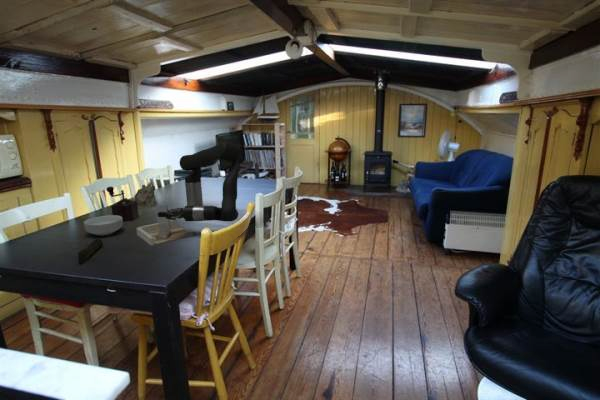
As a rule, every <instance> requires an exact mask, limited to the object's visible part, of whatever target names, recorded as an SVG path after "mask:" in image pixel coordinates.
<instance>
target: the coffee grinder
mask: <svg viewBox="0 0 600 400" xmlns="http://www.w3.org/2000/svg"><path fill="white" fill-rule="evenodd" d="M114 190H115V188H114V186H107V188H106V189H105V191H106V192H108V193H109V196H110V197H111V198H113V197H120V196H121V197H122V199H119V200H118V201H116V202H115V203H113V204H111V205H110V207H111V215H117V216H121V217H122V218H123V223H124V222H125V223H126V222H133V221H135V220H136V219H138V218H139V217H140V215H139V209H138V206H137V200H136V201H135V200H132V199H128V198H127V197H125V192H124V191H125V190H123V189H122V190H121V191H120V192H121V193H119V194H115V192H114Z"/></svg>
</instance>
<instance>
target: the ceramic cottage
mask: <svg viewBox="0 0 600 400" xmlns="http://www.w3.org/2000/svg"><path fill="white" fill-rule="evenodd" d="M133 197H134V201H136V200H137V206H138V210H143V209H149V208H153V207H156V206H157V205H158V203H157V200H156V196H155V189H154V188H153V185H152V182H148V184H147V185H146V184H142V185H141V188H139V189H138V190H137V192H136V193H135V195H134V196H133Z"/></svg>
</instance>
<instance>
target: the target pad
mask: <svg viewBox="0 0 600 400" xmlns="http://www.w3.org/2000/svg"><path fill="white" fill-rule="evenodd" d="M171 230H172V233H171V234H170V235H169V236H168V237H167V238H161V239H155V235H156V234H158V233H159V232H160V230H155V231H151V232H147V233H148V234H149V235H151V236H152V237H153V238H154V246H155V245H160V244H162V243H168V242H171V241H176V240H180V239H184V238H189V237H192V236H194V234H193V233H192V232H190V231H189V230H187V229H185V228H184V227H183V226H180V225H178V226H173V227H171Z"/></svg>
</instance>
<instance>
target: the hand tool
mask: <svg viewBox="0 0 600 400" xmlns="http://www.w3.org/2000/svg"><path fill="white" fill-rule="evenodd" d="M103 246H104V245H103V241H102V239H98V238H96V239H94V240H92V242H91V243H90V244H88V245H87V246H86V248H82V249H80V251H78V253H77V256H78V257H77V258H78V263H79V264H80V265H81V264H83V263H85V262H86V261H88V260H89V259H90V256H91V255H93V254H94V253H95V252H96V251H97V250H98V249H100V248H102V247H103Z"/></svg>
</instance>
